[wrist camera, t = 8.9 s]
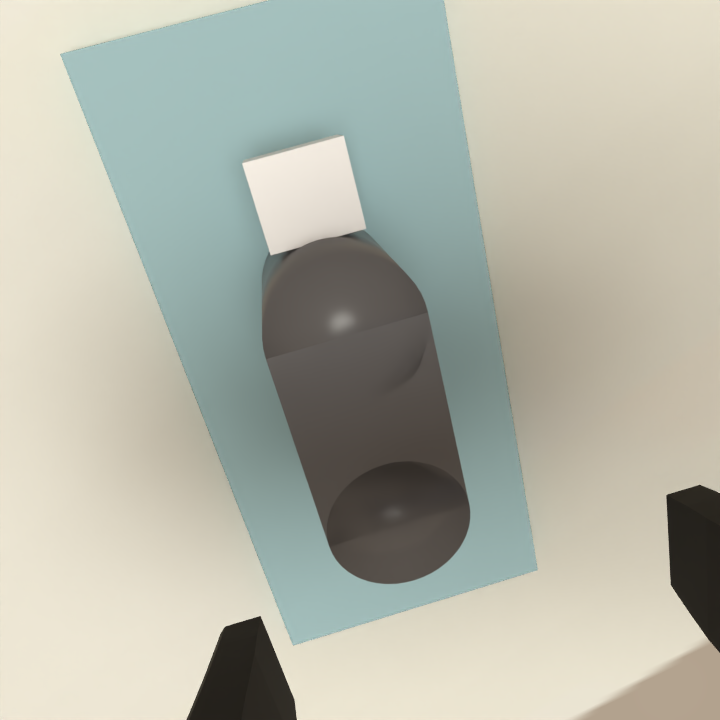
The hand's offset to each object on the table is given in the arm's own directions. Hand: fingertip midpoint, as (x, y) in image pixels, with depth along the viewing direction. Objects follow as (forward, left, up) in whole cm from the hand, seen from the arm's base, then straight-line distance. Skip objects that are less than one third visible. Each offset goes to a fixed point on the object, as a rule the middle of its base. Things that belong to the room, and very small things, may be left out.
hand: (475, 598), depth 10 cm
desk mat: (+1, -1, -9) cm, 9 cm away
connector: (+1, -1, -9) cm, 9 cm away
